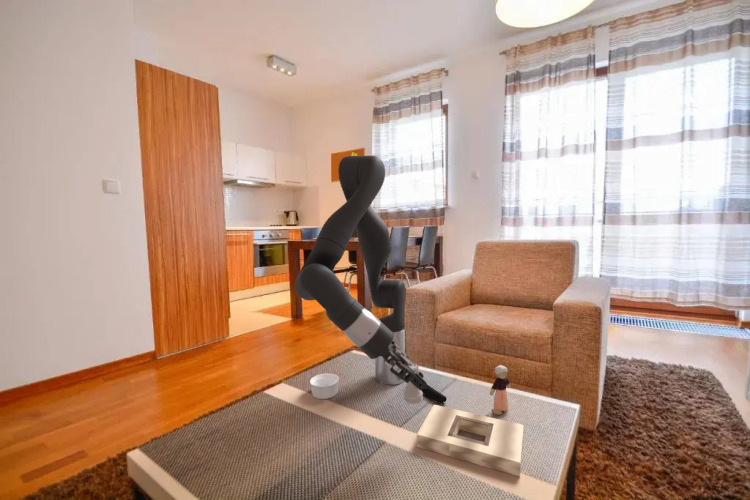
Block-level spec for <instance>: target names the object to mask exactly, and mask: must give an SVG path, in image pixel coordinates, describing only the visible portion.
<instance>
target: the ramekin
mask: <svg viewBox="0 0 750 500" xmlns="http://www.w3.org/2000/svg"><path fill="white" fill-rule="evenodd" d="M339 382H340V378H339V376H338V375H337V374H334V373H321V374H317V375H314V376H313V377H311V378H310V380H309V385H310V389H311V395H312V397H313V398H315V399H318V400H327V399H331V398H333V397H335V396H336V395H338V394H337V393H338V392H339Z"/></svg>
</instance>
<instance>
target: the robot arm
mask: <svg viewBox="0 0 750 500" xmlns="http://www.w3.org/2000/svg"><path fill="white" fill-rule="evenodd" d="M337 170H338V180H339V184H340V187H341V189H342V190H341V191H342V193H343V195H344V198H345V200H346V202H345V203H343V204H342V205H341V206H340V207H339V208H338V209H337V210H335V211H334V212H333V213H332V214H331V215H330V216H329V217H328V218H327V219H326V220H325V221H324V224H323V225H322V227H321V229H320V231H319V233H318V235H317V238H316V239H315V242H314V243H313V247H312V249H311V251H310V254H309V256H308V257H307V258H306V259H305V262H304V263H303V265H302V267H301V269H299V270H300V271H299V272H298V274H297V276H296V279H295V281H294V289H295V291H296V293H297V295H298V296H299V297H300V298H301V299H302V300H305V301H316V302H317V303H318V304H319V305H320V306H321V307H322V308H323V309H324V310H325V313H326V317H327V318H328V319H329V320H330V321H331V322H332V323H333V324H334V325H335V326H336V327H337V328H338V329H339V330H340V331H342V333H344V334H345V336H346V337H347V338H348V340H349V341H351V342H352V343H353V344H354V345H356V347H358V349H359V350H360V351H362V352H363V353H364V354H365V355H366V356H367V357H368V358H369V359H371V360H374V374H375V375H374V376H375V377H374V379H375V380H376V381H378V382H380V383H381V384H384V385H392V386H393V385H400V384H402V383H406V384H408V382H409V381H410V382H411V383H412V384H413V385H415V386H416V387H417V388H418V389H419V390H423V389H424V388H425V387H426V386H427V385H428V383H427V381H426V380H425V379H424V374H423V373H422V372H421V371H420V372H419V374H417V373H416V371H415V370H413V369H412V368H411V367H410V366H409V365H410V364H413V362H412V360H410V356H408V355H407V354H406V333H405V332H406V331H405V330H406V328H405V325H406V324H405V322H406V293H407V292H406V285H405V283H404V281H403V280H399V279H383V278H382V276H381V273H382V270H383V267H384V266H385V264H386V263H387V261H388V260H389V257H390V256H391V253H392V240H391V235H390V231H389V228H388V226H387V224H386V223H385V222H384V220H383V219H382V218H381V216H380V215H379V214H378V213H377V212H376V211H375V209H374V208H373V207H372V206H371V204H372V203H373V202H374V200H375V199H376V197H377V196H378V194H379V192H380V191H381V189H382V188H383V185H384V182H385V178H386V168H385V163H384V162H383V160H382V158H381V157H379V156H376V155H349V156H348V155H347V156H343V157H342V159H341V160H340V162H339V164H338V169H337ZM354 231H355V232H356V236H357V239H358V240H357V241H358V244H359V248H360V252H361V254H362V255H361V256H362V258H363V262H364V266H365V270H366V275H367V279H368V281H367V282H368V285H369V286H368V287H369V292H370V298H371V301H372V304H373V305H374V306H375V307H376V308H382V309H392V311H393V312H392V313H391V314H388V315H385V316H381V317H379V318H378V317H377V316H376V315H375V314H373V313H372V312H371V311H370V310H368V309H367V308H365V307H364V306H363V305H362V304H361V303H360V302H359V301H358V300H357V299H356V298H355V297H354V296H353V295H351V294H350V293H349V292H348V290H347V288H346V287H345V286H344V284H343V283H342V281H340V279H339V278H338V276H337V275H336V274H335V272H333V271H334V269H335V267H336V266H337V265H338V264H339V262H340V261H341V259H342V258H343V256H344V254H345V253H346V249H347V247H348V244H349V243H350V240H351V238H352V236H353V233H354ZM413 366H414V364H413Z"/></svg>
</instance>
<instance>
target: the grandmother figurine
mask: <svg viewBox="0 0 750 500" xmlns="http://www.w3.org/2000/svg"><path fill="white" fill-rule="evenodd" d="M508 371H509V370H508V368H507V367H506V366H505V365H502V364H499V365H498V366H495V368H494V372H495V374H496V376H497V378H495V380H494V382H493V383H492V386H491V389H490V392H489V395H490V396H494V397H493V408H492V412H493V414H495V415H497V416H498V415H499V416H501V415H503V413H506V412H508V411H509V402H508V393H507V392H508V391H507V389H510V388H511V387H512V386H511V382H510V380H509V379H508V378H507V373H508Z"/></svg>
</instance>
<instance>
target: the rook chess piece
mask: <svg viewBox="0 0 750 500" xmlns="http://www.w3.org/2000/svg"><path fill="white" fill-rule="evenodd" d="M413 365H414V366H413ZM409 366H410V367H411V368H412V369H413V370H415V371H416V373H417V374H419V372H421V369H420V365H419V364H416V363H414V364H410V365H409ZM406 384H407V386H406V388H405V390H404V392H403V395H404V396H403V400H404V401H405V403H407V404H410V405H419V404H421V403H422V402H423V400H424V396H423V395H424V393H422V391H421V390H419V389H418V388H417V387H416V386H415V385H413V384H412V383H411V382H410V381H409V382H408V383H406Z"/></svg>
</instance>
